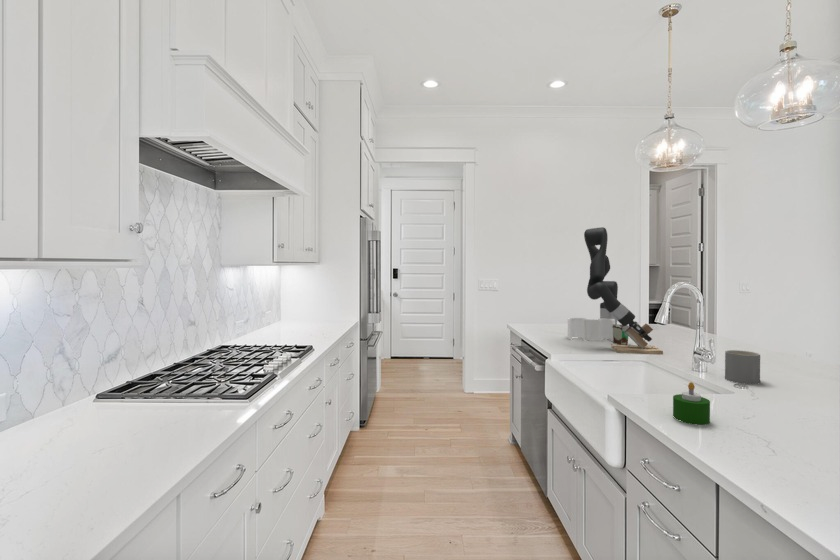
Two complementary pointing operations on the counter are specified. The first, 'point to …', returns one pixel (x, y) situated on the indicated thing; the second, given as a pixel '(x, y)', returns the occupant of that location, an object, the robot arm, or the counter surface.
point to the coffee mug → (742, 366)
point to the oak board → (636, 349)
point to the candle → (691, 407)
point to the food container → (620, 334)
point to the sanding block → (637, 337)
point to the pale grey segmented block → (591, 328)
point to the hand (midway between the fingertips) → (649, 339)
